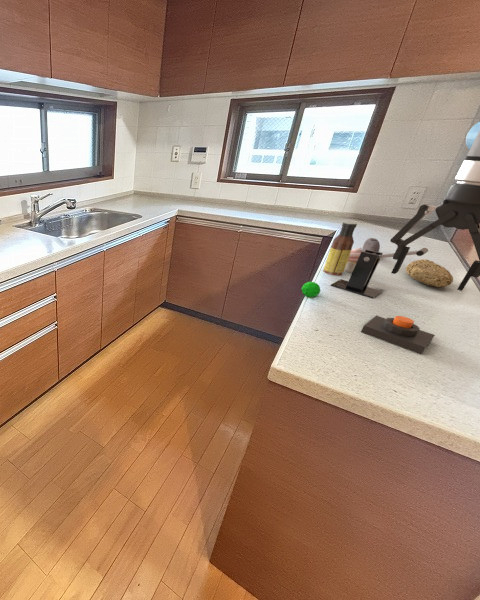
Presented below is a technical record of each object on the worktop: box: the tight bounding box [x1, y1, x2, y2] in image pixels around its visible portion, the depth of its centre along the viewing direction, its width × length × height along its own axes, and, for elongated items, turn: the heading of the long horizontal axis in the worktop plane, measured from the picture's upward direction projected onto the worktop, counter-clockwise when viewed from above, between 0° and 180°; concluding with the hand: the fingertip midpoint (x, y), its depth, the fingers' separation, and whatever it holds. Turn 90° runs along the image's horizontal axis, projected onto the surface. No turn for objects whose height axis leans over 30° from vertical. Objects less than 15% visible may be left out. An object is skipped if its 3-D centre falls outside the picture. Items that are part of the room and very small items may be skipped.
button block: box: [360, 315, 435, 355], centre depth 84 cm, size 12×10×4 cm
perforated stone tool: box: [362, 237, 381, 252], centre depth 145 cm, size 15×5×7 cm, turn 145°
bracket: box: [330, 249, 384, 299], centre depth 108 cm, size 12×9×14 cm
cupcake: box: [343, 247, 363, 274], centre depth 125 cm, size 9×9×10 cm
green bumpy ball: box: [301, 281, 321, 298], centre depth 105 cm, size 5×5×5 cm
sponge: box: [405, 258, 454, 288], centre depth 119 cm, size 13×8×20 cm
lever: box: [372, 247, 429, 259], centre depth 101 cm, size 14×6×2 cm, turn 36°
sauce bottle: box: [322, 221, 358, 277], centre depth 120 cm, size 7×6×20 cm
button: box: [392, 315, 415, 328], centre depth 82 cm, size 4×4×2 cm
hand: (425, 280), depth 77 cm, fingers open, 11 cm apart
